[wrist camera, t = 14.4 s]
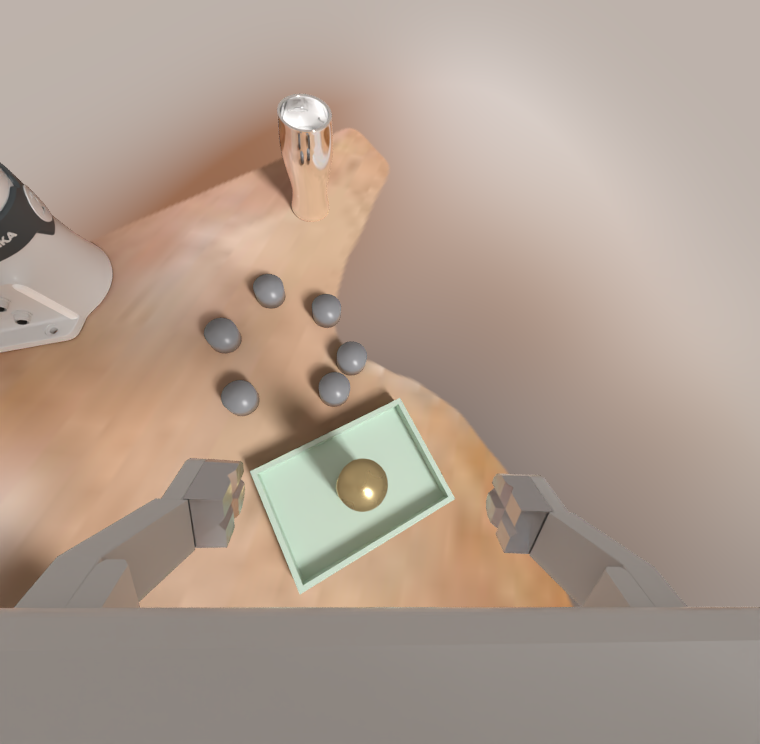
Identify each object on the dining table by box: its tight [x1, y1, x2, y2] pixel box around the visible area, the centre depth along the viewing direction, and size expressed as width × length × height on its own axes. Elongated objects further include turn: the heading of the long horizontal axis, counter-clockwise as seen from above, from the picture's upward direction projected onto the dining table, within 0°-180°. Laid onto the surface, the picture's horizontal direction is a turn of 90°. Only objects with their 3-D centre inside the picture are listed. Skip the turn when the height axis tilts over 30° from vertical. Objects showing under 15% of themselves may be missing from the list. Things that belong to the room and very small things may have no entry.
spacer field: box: [204, 274, 367, 416], centre depth 46 cm, size 19×21×2 cm
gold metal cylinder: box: [336, 458, 388, 512], centre depth 36 cm, size 4×4×13 cm
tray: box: [250, 398, 455, 594], centre depth 41 cm, size 20×14×3 cm
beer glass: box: [277, 94, 333, 222], centre depth 49 cm, size 7×7×15 cm
